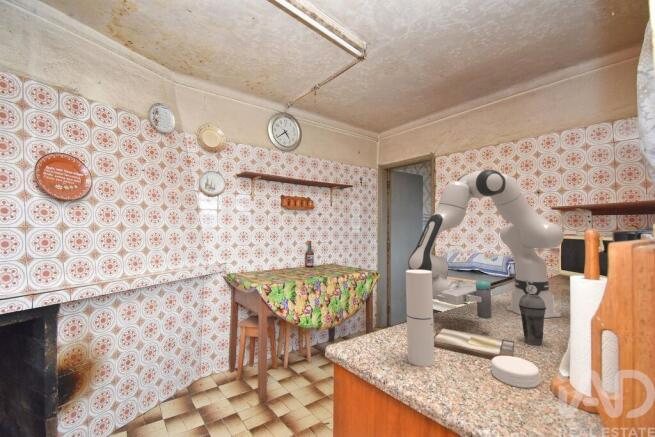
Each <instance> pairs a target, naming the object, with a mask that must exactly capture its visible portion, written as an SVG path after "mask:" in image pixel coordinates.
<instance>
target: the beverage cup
mask: <svg viewBox="0 0 655 437" xmlns="http://www.w3.org/2000/svg"><path fill="white" fill-rule="evenodd" d="M526 283H527V289H528V294H525V295H523V296H522V297H521V299H520V301H519V308H520V312H521V314H520V316H521V323H522V331H523V338H524V343H526V344H529V345H532V346H542V345H543V341H544V340H543V339H544V325H545V318H544V315H545V309H546V307H545V303H544V301H543V299H542V298H541V297H539V296H538V295H536V294H531V293H530V290H529V284H528V280H526Z"/></svg>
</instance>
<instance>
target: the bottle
mask: <svg viewBox="0 0 655 437" xmlns="http://www.w3.org/2000/svg"><path fill="white" fill-rule="evenodd" d="M475 284H476V295H477V296H482V297H483V301H482V302H476V311H477V312H476V314H477V317H478V318H480V319H492V317H493V316H492V313H493V312H492V294H491V293H492V292H491V289H492V286H491V282H490V281H487V280H486V281H485V280H477V281H475Z"/></svg>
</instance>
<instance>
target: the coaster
mask: <svg viewBox="0 0 655 437" xmlns="http://www.w3.org/2000/svg"><path fill="white" fill-rule="evenodd" d="M490 361H491V362H490V363H491V370H490V371H491V373H492V375H493V377H494V378H495V379H497V380H499V381H500V382H502V383H504V384H506V385H510V386H512V387H517V388H522V389H532V388H536V387H538V386H539V384H540V370H539V368H538V366H536V365H535V364H534V363H532V362H531V361H529V360H527V359H524V358H520V357H517V356H513V357H512V356H497V357H494V358H493V359H492V360H490Z"/></svg>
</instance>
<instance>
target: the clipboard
mask: <svg viewBox="0 0 655 437" xmlns="http://www.w3.org/2000/svg"><path fill="white" fill-rule="evenodd" d="M514 346H515V341H514V340H509V339H504V338H498V337H492V336H487V335H481V334H476V333H470V332H466V331H465V332H464V331H459V330H454V329H448V328H443V327H440V329H438V331H437V332H436V333H434V348H438V349H442V350H443V349H444V350H447V351H451V352H457V353H461V354H464V355H470V356H474V357H479V358H484V359H488V360H490V361H492V359H493V358H494V357H497V356H512V357H514V356H513V355H514V348H515V347H514Z"/></svg>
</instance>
